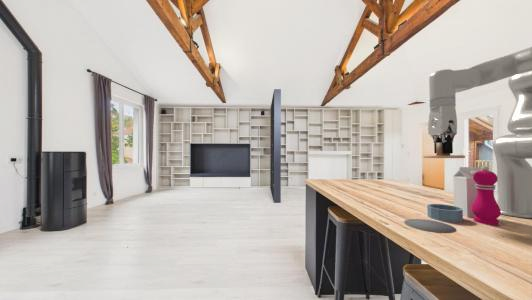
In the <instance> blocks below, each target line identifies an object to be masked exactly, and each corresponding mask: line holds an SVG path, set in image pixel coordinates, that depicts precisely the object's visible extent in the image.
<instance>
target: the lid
mask: <svg viewBox="0 0 532 300" xmlns="http://www.w3.org/2000/svg"><path fill="white" fill-rule="evenodd" d="M435 154H436V155H435ZM435 154H434V155H431V154H429V155H428V154H427V155H425V154H424V155H423V157H422V158H424V159H465V158H466V155H458V154H457V155H455V154H453V155H451V154H443V153H442V143H436V153H435Z"/></svg>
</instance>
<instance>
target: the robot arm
mask: <svg viewBox="0 0 532 300" xmlns="http://www.w3.org/2000/svg"><path fill="white" fill-rule="evenodd" d="M504 79H508V81H507V82H508V83H507V85H508V88H509V89H510V91H511V93H512V95H513V97H514V99H515V105H514V107H513V110H512V112H511V114H510V117H509V119H508V121H507V126H506V127H507V130H508V132H510V133H511V134H505V135H501V136H499V137H497V138H496V139H495V140H494V141H493V142H492V149H493V153H494V156H495V161H496V173H497V174H496V175H497V178H498V180H497V182H496V183H497V187H496V188H497V204H498V206H499V208H500V210H501V215H504V216H508V217H514V218H515V217H516V218H522V219H523V218H524V219H532V166H531V164H530V163H529V162H528V161H527V160H526V159H531V160H532V46H530V47H527V48H525V49H522V50H519V51H516V52H514V53H513V52H512V53H510V54H507V55H504V56H501V57H497V58H495V59H490V60H488V61H485V62H482V63H479V64H477V65H473V66H471V67H469V68H463V69H455V70H453V69H450V68H449V69H446V68H445V69H441V70H437V71H434V72H432V73H431V74H430V76H429V79H428V82H429V84H428V85H429V87H428V88H429V114H428V128H427V129H428V130H427V131H428V135H429V136H430V138H432V140H433V143H434V145H433V147H434V148H433V150H434V151H433V152H434V154H436V143H442V153H443V154H450V155H451V154H453V153H454V150H453V146H454V145H453V143H454V138H455V136H456V135H457V134H458V119H457V118H458V117H457V111H456V109H457V108H456V107H457V105H456V103H457V102H456V100H457V99H456V94H457V93H460V92H461V93H462V92H465V91H469V90H471V89H474V88H477V87H481V86H484V85H489V84H492V83H496V82H498V81H501V80H504Z"/></svg>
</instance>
